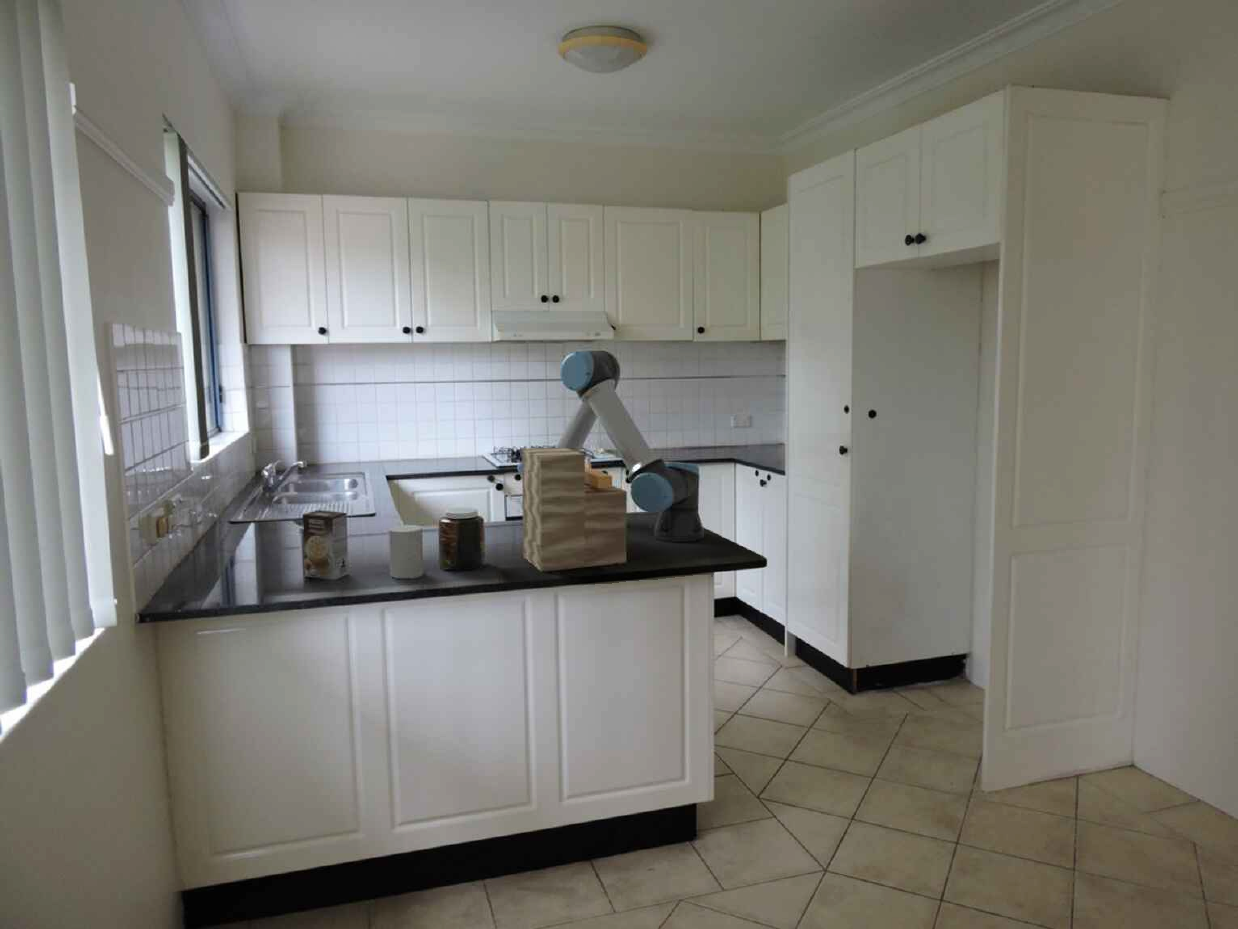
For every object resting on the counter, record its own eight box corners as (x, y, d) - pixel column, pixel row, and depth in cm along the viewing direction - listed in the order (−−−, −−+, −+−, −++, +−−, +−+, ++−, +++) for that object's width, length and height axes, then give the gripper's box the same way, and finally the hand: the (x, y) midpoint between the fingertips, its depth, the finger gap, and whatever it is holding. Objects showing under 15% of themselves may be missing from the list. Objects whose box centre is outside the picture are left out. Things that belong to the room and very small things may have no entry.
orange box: (612, 487, 224) (612, 476, 224) (598, 488, 223) (598, 476, 222) (577, 473, 248) (577, 462, 247) (564, 473, 246) (564, 463, 246)
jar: (463, 574, 216) (462, 516, 214) (430, 567, 222) (428, 511, 220) (493, 564, 226) (493, 509, 224) (461, 558, 232) (459, 504, 230)
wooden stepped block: (626, 562, 228) (626, 452, 224) (540, 571, 219) (539, 456, 214) (602, 548, 243) (602, 445, 239) (521, 556, 234) (520, 449, 230)
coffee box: (303, 576, 212) (300, 514, 210) (320, 570, 218) (317, 509, 216) (333, 580, 209) (331, 516, 207) (350, 574, 215) (347, 512, 213)
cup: (414, 579, 210) (413, 532, 209) (384, 577, 212) (383, 531, 210) (428, 571, 218) (427, 525, 217) (399, 569, 220) (397, 524, 218)
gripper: (586, 501, 261) (612, 473, 241) (533, 505, 254) (555, 476, 234) (581, 479, 263) (607, 449, 243) (529, 482, 256) (550, 452, 236)
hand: (581, 462), depth 238 cm, fingers open, 4 cm apart
